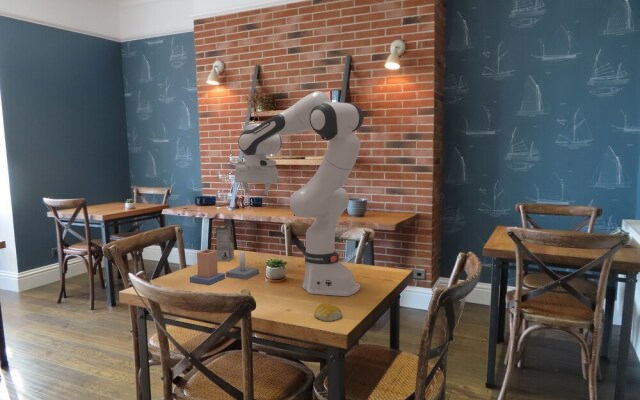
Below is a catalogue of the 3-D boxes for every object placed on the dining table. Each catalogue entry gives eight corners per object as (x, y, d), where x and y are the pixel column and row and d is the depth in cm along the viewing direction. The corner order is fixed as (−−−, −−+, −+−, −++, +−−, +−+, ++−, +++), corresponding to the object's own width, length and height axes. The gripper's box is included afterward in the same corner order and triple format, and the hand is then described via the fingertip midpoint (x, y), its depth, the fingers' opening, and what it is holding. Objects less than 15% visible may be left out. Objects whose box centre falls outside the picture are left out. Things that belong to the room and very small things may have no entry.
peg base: (225, 278, 186) (224, 256, 185) (209, 285, 177) (208, 262, 176) (205, 275, 190) (205, 254, 189) (189, 282, 181) (189, 259, 180)
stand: (259, 273, 193) (258, 250, 192) (246, 279, 184) (245, 255, 183) (239, 270, 197) (239, 248, 196) (226, 276, 188) (225, 253, 187)
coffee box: (221, 256, 222) (220, 224, 220) (234, 256, 222) (233, 224, 220) (216, 261, 213) (215, 228, 211) (230, 261, 212) (229, 228, 210)
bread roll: (328, 309, 151) (328, 298, 150) (345, 318, 143) (345, 306, 143) (308, 315, 146) (308, 303, 145) (325, 324, 138) (325, 312, 138)
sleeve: (217, 274, 184) (216, 250, 183) (209, 278, 179) (208, 253, 178) (206, 272, 187) (205, 249, 186) (197, 276, 182) (196, 252, 180)
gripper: (231, 161, 193) (232, 193, 195) (272, 162, 185) (272, 195, 186) (239, 161, 199) (240, 191, 201) (279, 161, 190) (280, 193, 192)
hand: (256, 193), depth 193 cm, fingers open, 8 cm apart
